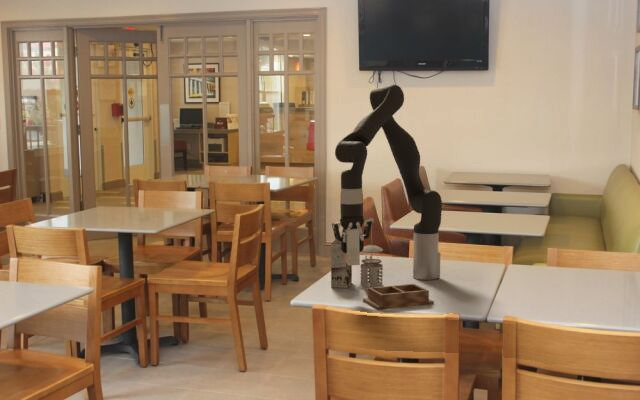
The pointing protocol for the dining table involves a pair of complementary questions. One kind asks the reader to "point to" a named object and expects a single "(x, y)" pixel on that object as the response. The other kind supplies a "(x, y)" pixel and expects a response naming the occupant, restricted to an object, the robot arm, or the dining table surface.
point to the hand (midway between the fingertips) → (352, 251)
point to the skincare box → (352, 247)
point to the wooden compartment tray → (397, 296)
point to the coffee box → (339, 267)
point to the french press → (371, 267)
